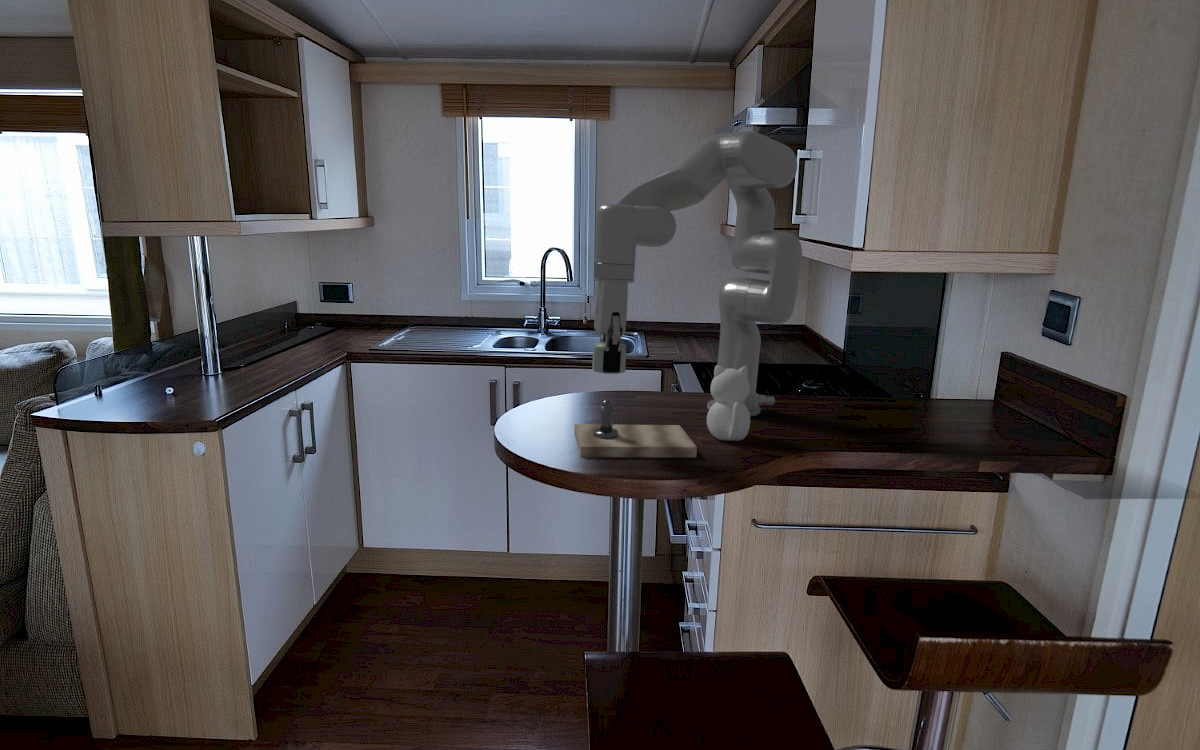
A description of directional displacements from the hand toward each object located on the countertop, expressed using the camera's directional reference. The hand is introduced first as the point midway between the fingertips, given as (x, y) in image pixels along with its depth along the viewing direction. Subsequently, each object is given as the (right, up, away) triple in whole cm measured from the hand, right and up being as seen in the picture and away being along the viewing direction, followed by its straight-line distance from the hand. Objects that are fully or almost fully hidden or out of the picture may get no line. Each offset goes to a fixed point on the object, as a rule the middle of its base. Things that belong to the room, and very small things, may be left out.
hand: (608, 367), depth 127 cm
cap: (0, -1, 0) cm, 1 cm away
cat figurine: (+25, -15, +12) cm, 31 cm away
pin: (-1, -13, +3) cm, 14 cm away
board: (+5, -15, +4) cm, 17 cm away
